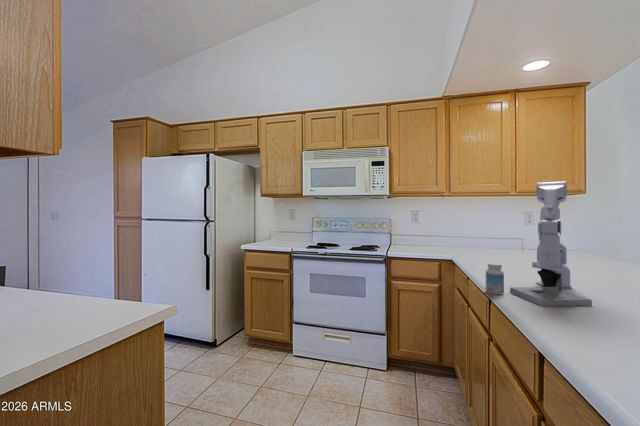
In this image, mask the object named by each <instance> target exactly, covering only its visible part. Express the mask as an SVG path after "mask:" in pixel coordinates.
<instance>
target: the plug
mask: <svg viewBox="0 0 640 426" xmlns="http://www.w3.org/2000/svg"><path fill="white" fill-rule="evenodd" d="M542 286H544V285H542ZM556 286H557V287H558V291H562V290H563V288H562V277H560V278H559V279H558V281H557V283H556Z"/></svg>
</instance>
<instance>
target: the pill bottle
mask: <svg viewBox="0 0 640 426" xmlns="http://www.w3.org/2000/svg"><path fill="white" fill-rule="evenodd" d="M502 268H503V265H502V264H501V263H499V262H488V263H487V269H486V270H485V292H486V293H488V294H491V295H503V294H504V293H505V274H504V271H503V270H502Z"/></svg>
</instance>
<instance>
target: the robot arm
mask: <svg viewBox="0 0 640 426" xmlns="http://www.w3.org/2000/svg"><path fill="white" fill-rule="evenodd" d="M567 186H568V182H567V181H565V180H564V181H549V182H548V181H547V182H546V181H545V182H540V181H539V182H537V183H536V185H535V187H536V189H535V190H536V191H535V193H536V194H535V195H536V198H537V202H539V203H543V205H544V206H542V207H541V209H540V217H539V221H537V222H538V223H537V234H538V241H539V243H538V245H537V247H536V248H537V249H536V261H533V262H531V267H532V268H537V269H540V270H537V274H538V275H539V277H540V281H535V283H536V284H538V285H540V286H541V285H542V286H543V285H544V286H556V283H557V281H558V279H559V278H560V277H562V289H563V288H573V286H572V285H571V271H570V268H569V266H567V265H566V264H567V262H568V261H567V257H568V256H567V255H568V254H567V247H566V245H564V244H563V243H562V242H561V238H560V237H561V236H562V220H561V209H560V208H559V206H560V203H562V202H565V201H566V199H567V195H568V187H567Z"/></svg>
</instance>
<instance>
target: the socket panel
mask: <svg viewBox="0 0 640 426" xmlns="http://www.w3.org/2000/svg"><path fill="white" fill-rule="evenodd" d="M509 292H510V293H511V294H513V295H515V296H518V297H520V298H521V299H524V300H527V301H528V302H532V303H534V304H536V305H538V306H540V307H560V306H561V307H565V306H566V307H567V306H569V307H570V306H571V307H576V305H581V306H580V307H586V306H587V307H590V306H592V305H593V300H592V299H591V298H589V297H585V296H581V295H578V294H576V293H573V292H570V291H567V290H564V289H562V291H558V293H559V294H562V295H565V296H568V297H571V298H573V299H575V300H557V301H555V300H552V299H550V298H547V297H545V296H542V295H540V293H542V286H540V287H539V286H537V287H536V286H533V287H531V286H529V287H527V286H524V287H519V286H518V287H517V286H515V287H511V286H510V287H509Z"/></svg>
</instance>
